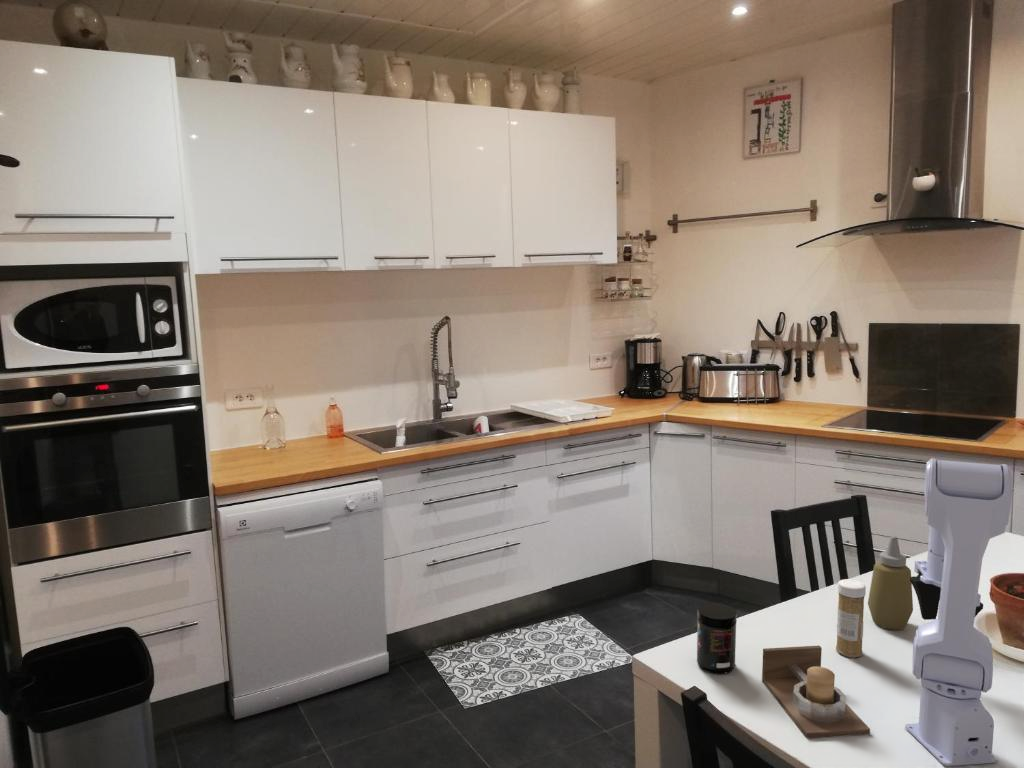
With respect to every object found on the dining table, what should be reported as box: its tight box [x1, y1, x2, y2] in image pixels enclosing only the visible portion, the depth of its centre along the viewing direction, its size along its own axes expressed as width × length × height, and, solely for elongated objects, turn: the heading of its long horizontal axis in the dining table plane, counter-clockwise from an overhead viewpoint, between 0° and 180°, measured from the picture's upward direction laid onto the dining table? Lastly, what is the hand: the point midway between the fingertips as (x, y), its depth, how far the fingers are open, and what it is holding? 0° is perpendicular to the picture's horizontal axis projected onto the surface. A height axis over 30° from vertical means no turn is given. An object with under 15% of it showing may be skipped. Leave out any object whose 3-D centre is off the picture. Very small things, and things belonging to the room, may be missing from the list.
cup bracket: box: [761, 645, 871, 739], centre depth 118 cm, size 16×10×6 cm, turn 4°
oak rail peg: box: [806, 666, 836, 705], centre depth 116 cm, size 4×4×6 cm
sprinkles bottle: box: [835, 578, 867, 658], centre depth 134 cm, size 5×5×13 cm
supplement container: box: [696, 602, 738, 675], centre depth 131 cm, size 7×7×10 cm
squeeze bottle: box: [867, 536, 914, 631], centre depth 145 cm, size 8×8×18 cm
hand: (942, 628), depth 124 cm, fingers open, 7 cm apart
